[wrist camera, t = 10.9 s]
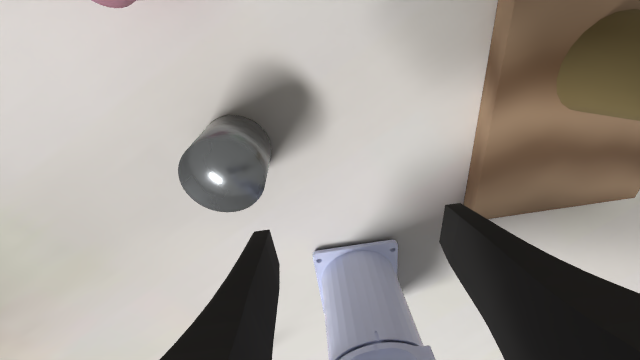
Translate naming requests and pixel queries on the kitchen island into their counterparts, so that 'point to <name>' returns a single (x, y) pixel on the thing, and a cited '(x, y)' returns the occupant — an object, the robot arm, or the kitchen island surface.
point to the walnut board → (545, 118)
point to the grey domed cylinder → (226, 164)
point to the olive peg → (604, 68)
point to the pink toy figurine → (115, 3)
